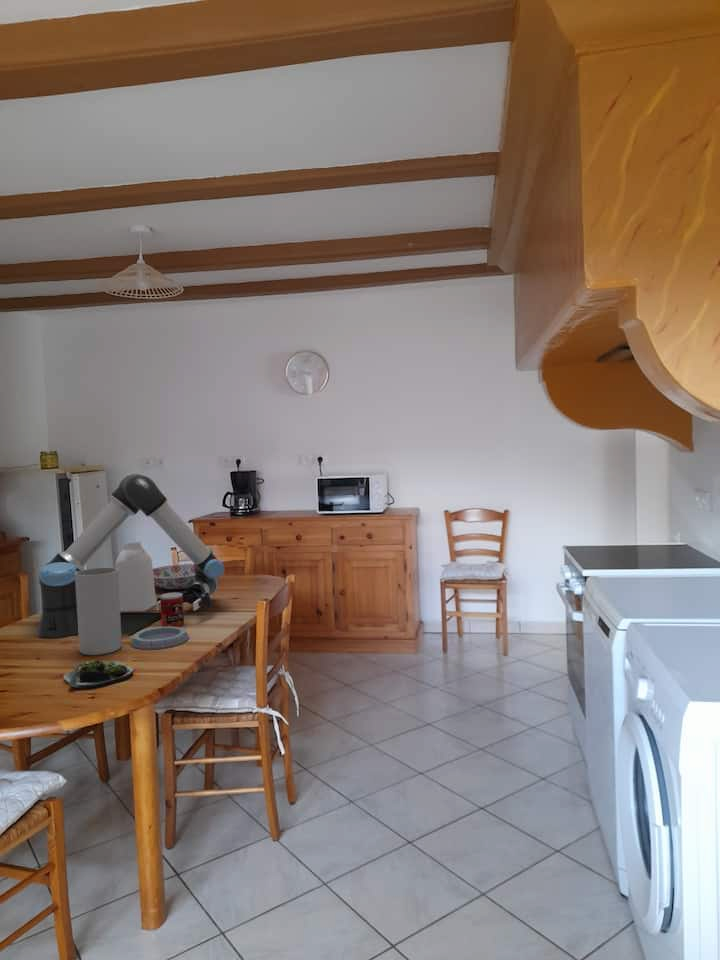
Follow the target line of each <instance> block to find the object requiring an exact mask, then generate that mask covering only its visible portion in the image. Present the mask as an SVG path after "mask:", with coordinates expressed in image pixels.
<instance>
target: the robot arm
mask: <svg viewBox="0 0 720 960" xmlns="http://www.w3.org/2000/svg"><path fill="white" fill-rule="evenodd" d="M139 511H141V512H142V513H143V514H144V516H146V517H148V518H152V520H153V521H154V522H155V523H156V525H158V526H159V527H160V528H161V529H162V530H163V531H164V532H165V534H166V535H167V536H168V537H169V538H170V539H171V540H172V542H174V544H176V546H178V548H179V549H180V550H181V551H182V552H183V553H184V554H185V556H187V557H188V558H189V560H190V561H191V562H192V563H193V564H194V570H195V583H193V584H192V585H190V586H188V587H187V588H184V591H183V592H181V593H182V594H183V604H184V603H186V604H187V603H188V604H190V605H192V611H197V610H198V609H199V608H201V607H204V606H206V605H207V606H210V605H212V603H211V597H210V596H212V595H213V594H214V593H215V591H217V589H218V581H217V579H219V578H221V577H222V576H223V574H224V572H225V566H224V564H223V562H222V560H220V559H218V557H216V555H215V554H214V553H213V551H214V550H213V549H212V548H211V547H207V546H206V545H205V543H204V542H203V541H202V540H201V539H200V538H199V537H198V536H197V534H196V533H195V532H194V531H193V530H192V528H190V527H189V526H188V525H187V523H186V522H185V521H184V520H183V519H182V518H181V517H180V516H179V514H178V513H177V512H176V511H175V510H174V508H172V507H171V505H169V504H168V498H167V497H166V496H165V495H164V494H163V492H162V491H161V490H160V488H159V486H157V484H156V483H155V482H154V480H153V479H152V478H150V477H149V476H146V475H143V474H140V473H139V474H138V473H134V474H133V473H132V474H129V475H127V476H125V477H124V478H123V479H122V480H121V481H120V482H119V485H118V487H116V488H115V490H114V491H113V492H112V493H111V494H110V501H109V503H108V504H107V505H106V506H105V507H104V508H103V509H102V510H101V511H100V513H98V515H97V516H96V517H95V518H94V519H93V520H92V521H91V522H90V524H89V525H88V526H87V527H86V528H85V529H84V530H83V531H82V532H81V534H80V535H79V536H78V537H77V538H76V539H75V540H73V542H72V543H71V545H70V546H69V547H68V548H67V549H66V550H65V551H59V552H58V553H56V555H55V556H54V557H53V558H52V559H51V560H50V561H49V562H47V563H46V564H44V565H43V566H42V567H41V568H40V570H39V575H38V583H39V587H40V597H41V599H40V600H41V615H40V618H39V619H40V620H39V623H38V626H37V636H38V637H39V636H40V637H39V638H45V639H55V638H64V637H65V638H66V637H69V636H74V635H77V634H78V617H77V599H76V582H75V573H76V572H78V571H81V570H86V569H85V566H86V565H87V564H88V563H89V561H90V560H91V559H92V558H93V557H94V556H95V555H96V554H97V552H98V551H99V550H100V549H101V548H102V546H103V545H105V543H106V542H107V541H108V540H109V539H110V538H111V537H112V535H114V533H115V532H116V531H117V530H118V529H119V527H121V526H122V525H123V523H124V522H125V521H126V520H127V519H128V518H129V517H130V516H136V515H137V513H139ZM155 608H156V611H157V612H158V611H161V601H160V597H156V604H155ZM78 635H79V634H78Z"/></svg>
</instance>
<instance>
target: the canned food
mask: <svg viewBox="0 0 720 960" xmlns="http://www.w3.org/2000/svg"><path fill="white" fill-rule="evenodd" d="M182 593H183V592H168V593H167V592H166V593H163V594H160V597H159V598H160V601H161V609H160V616H161V617H160V618H161V627H180V628H182V627H183V626H184V624H185V616H184V603H183V594H182Z"/></svg>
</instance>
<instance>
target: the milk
mask: <svg viewBox="0 0 720 960" xmlns="http://www.w3.org/2000/svg"><path fill="white" fill-rule="evenodd" d="M151 557H152V556H150V555H149V553H148V552H147V551H146V549H144V547H143V545H142V542H141V541H132V542H131V541H130V542H127V541H126V542H124V543H123V546H122V550H121V552H120V553H119V555H118V557H117V558H116V560H115V563H114V568H117V569H118V581H119V600H120V612H146V611H147V610H149V609H150V608H152V607H154V606H156V603H157V597H156V589H155V586H156V585H155V584H154V577H153V569H154V567H153V561H152V558H151Z"/></svg>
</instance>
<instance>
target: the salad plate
mask: <svg viewBox="0 0 720 960" xmlns="http://www.w3.org/2000/svg"><path fill="white" fill-rule="evenodd" d="M133 674H134V668H132V667H131V666H128V665H127V664H124V663H122V662H121V661H105V662H103V661H101V660H97V659H96V660H93V661H91V662H89V661H85V662H84V663H79V664H77V665H76V666H75V669H74V670H71V671H68V672H66V673H65V674H64V675H63V679H64V681H66V682H67V683H68V686H69V687H70V688H71V687H72V688H76V689H78V690H92V689H98V688H103V687H107V686H110V685H114V684H117V683H120V682H123V681H125V680H127V679H129V678H130V677H132V675H133Z"/></svg>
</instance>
